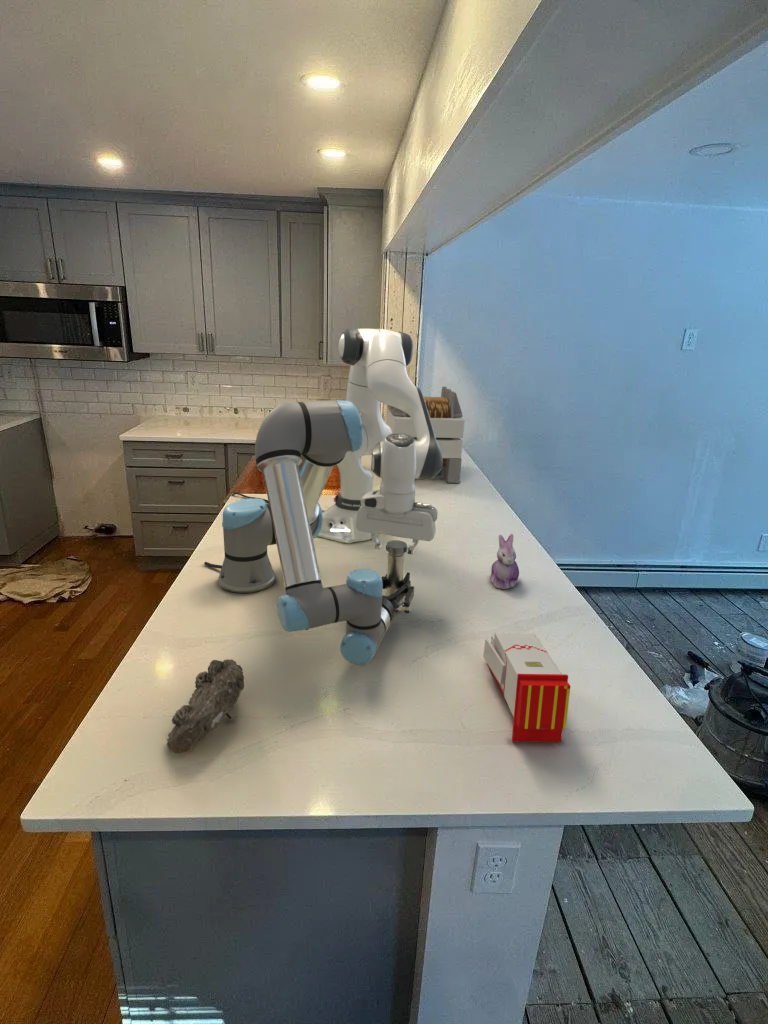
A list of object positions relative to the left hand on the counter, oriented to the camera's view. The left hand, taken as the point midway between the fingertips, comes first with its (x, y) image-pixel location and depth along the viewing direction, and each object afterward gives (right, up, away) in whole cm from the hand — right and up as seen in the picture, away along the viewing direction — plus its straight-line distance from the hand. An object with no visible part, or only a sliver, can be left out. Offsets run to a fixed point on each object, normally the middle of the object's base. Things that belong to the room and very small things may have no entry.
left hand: (399, 575), depth 154 cm
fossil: (-37, -22, -46) cm, 63 cm away
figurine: (+31, -4, +13) cm, 34 cm away
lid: (-1, +9, -9) cm, 12 cm away
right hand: (-2, +7, -8) cm, 11 cm away
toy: (+24, -21, -36) cm, 48 cm away
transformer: (+13, +36, +121) cm, 127 cm away
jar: (-2, -8, -3) cm, 8 cm away
